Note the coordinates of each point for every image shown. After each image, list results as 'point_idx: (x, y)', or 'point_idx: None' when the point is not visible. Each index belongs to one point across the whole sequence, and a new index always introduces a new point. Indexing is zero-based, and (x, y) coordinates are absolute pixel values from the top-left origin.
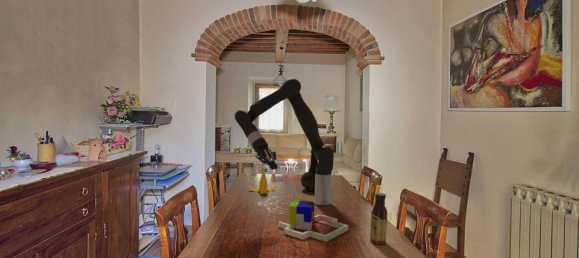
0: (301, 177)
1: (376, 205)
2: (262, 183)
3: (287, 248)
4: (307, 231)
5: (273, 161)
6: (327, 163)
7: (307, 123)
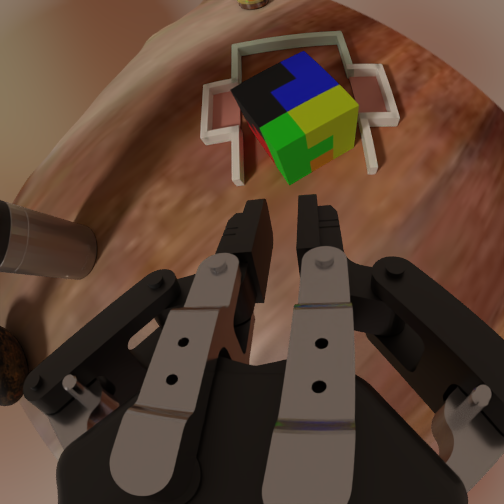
0: (5, 401)
1: None
2: None
3: (439, 72)
4: (357, 66)
5: (251, 249)
6: None
7: None
